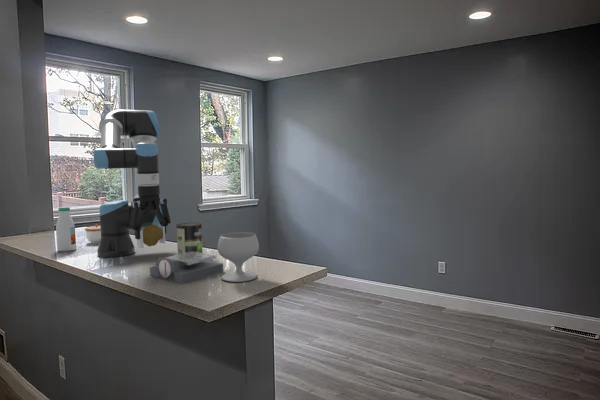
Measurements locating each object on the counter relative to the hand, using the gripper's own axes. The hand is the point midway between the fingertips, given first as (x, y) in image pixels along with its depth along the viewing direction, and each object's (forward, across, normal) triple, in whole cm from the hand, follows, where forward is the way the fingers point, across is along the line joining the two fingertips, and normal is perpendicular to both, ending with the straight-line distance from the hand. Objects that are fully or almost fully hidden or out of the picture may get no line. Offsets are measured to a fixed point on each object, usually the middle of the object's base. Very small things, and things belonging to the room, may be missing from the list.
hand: (151, 245), depth 161 cm
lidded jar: (+12, +18, +71) cm, 74 cm away
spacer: (+9, +16, -11) cm, 22 cm away
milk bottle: (+11, 0, +65) cm, 66 cm away
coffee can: (+10, +20, +3) cm, 23 cm away
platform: (+4, +4, -17) cm, 18 cm away
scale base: (+9, +2, -17) cm, 19 cm away
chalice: (+9, +8, -37) cm, 39 cm away
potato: (+1, 0, 0) cm, 1 cm away
